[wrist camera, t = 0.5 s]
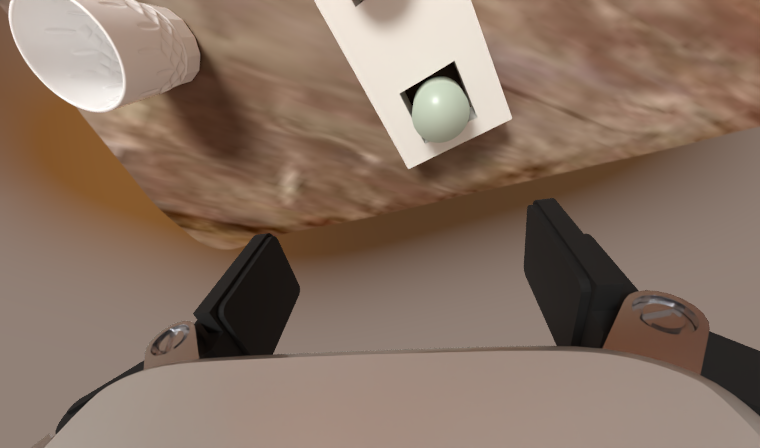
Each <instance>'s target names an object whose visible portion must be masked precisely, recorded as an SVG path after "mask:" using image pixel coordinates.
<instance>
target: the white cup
mask: <svg viewBox="0 0 760 448" xmlns="http://www.w3.org/2000/svg"><path fill="white" fill-rule="evenodd" d="M9 23H10V27H11V32H12V35H13V38H14V40H15V43H16V45H17V47H18V49H19V51H20V53H21V54H22V56H23V58H24V60H25V61H26V63H27V64H28V65H29V67H30V68H31V70H32V71H33V72H34V73H35V74H36V76H37V77H38V78H39V79H40V80H41V81H42V82H43V83H44V84H45V85H46V86H47V87H48V88H49V89H50V90H51V91H53V92H54V93H55V94H56V95H58V96H59V97H60V98H62V99H63V100H65V101H67V102H69V103H70V104H72V105H74V106H76V107H78V108H81V109H83V110H87V111H91V112H108V111H111V110H114V109H117V108H120V107H123V106H126V105H129V104H132V103H135V102H138V101H141V100H144V99H146V98H149V97H152V96H155V95H158V94H161V93H163V92H166V91H169V90H171V89H172V88H173V87H176V86H178V85H181V84H184V83H187V82H190V81H192V80H193V79H194V77H195V76H196V74H197V73H198V71H199V68H200V52H199V49H198V45H197V42H196V39H195V36H194V35H193V34H192V32H191V31H190V29H189V28H188V26H187V25H186V24H185V22H184V21H183V20H182V19H181V18H180V17H178V16H177V15H176V14H174V13H173V12H172V11H170V10H169V9H168V8H164V7H160V6H156V5H152V4H146V3H139V2H137V1H135V0H11V2H10V5H9Z"/></svg>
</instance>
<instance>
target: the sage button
mask: <svg viewBox="0 0 760 448" xmlns="http://www.w3.org/2000/svg"><path fill="white" fill-rule="evenodd" d="M469 116H470V106H469V102H468V100H467V97H466V96H465V94H464V92H463V91H462V89H461V87H460V86H459V84H458V83H457V82H456V81H454V80H453V79H451V78H449V77H445V76H437V77H433V78H430V79H428V80H427V81H425V82H424V83H423V84H422V85H421V86H420V87H419V88H418V90H417V92H416V94H415V96H414V101H413V109H412V122H413V125H414V128H415V130H416V131H417V133H418V134H419V135H420V136H421V137H422V138H424V139H426V140H427V141H430V142H434V143H442V142H447V141H450V140H452V139H454V138H455V137H457V136H458V135H459V134H460V133H461V132H462V131H463V130H464V128H465V127H466V125H467V123H468V120H469Z"/></svg>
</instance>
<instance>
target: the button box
mask: <svg viewBox="0 0 760 448" xmlns="http://www.w3.org/2000/svg"><path fill="white" fill-rule="evenodd" d="M314 1H315V3H316V4H317V6H318V8H319V10H320V12H321V13H322V15H323V17H324V19H325V21H326V22H327V24H328V26H329V28H330V29H331V31H332V33H333V35H334V37H335V38H336V40H337V42H338V44H339V46H340V47H341V49H342V51H343V53H344V55H345V56H346V58H347V60H348V62H349V63H350V65H351V67H352V69H353V71H354V72H355V74H356V76H357V78H358V80H359V81H360V83H361V85H362V87H363V89H364V90H365V92H366V94H367V96H368V98H369V99H370V101H371V103H372V105H373V106H374V108H375V110H376V112H377V114H378V115H379V117H380V119H381V121H382V123H383V124H384V126H385V128H386V130H387V132H388V133H389V135H390V137H391V139H392V140H393V142H394V144H395V146H396V148H397V149H398V151H399V153H400V155H401V157H402V158H403V160H404V162H405V164H406V166H407V167H408V169H410V168H412V167H414V166H416V165H418V164H420V163H422V162H424V161H426V160H429V159H431V158H433V157H435V156H437V155H439V154H441V153H443V152H445V151H447V150H449V149H451V148H453V147H455V146H457V145H459V144H461V143H463V142H466V141H468V140H470V139H472V138H474V137H476V136H478V135H480V134H482V133H484V132H486V131H488V130H490V129H492V128H494V127H496V126H498V125H501V124H503V123H505V122H507V121H509V120H511V119H512V116H511V114H510V111H509V108H508V105H507V102H506V99H505V96H504V94H503V91H502V88H501V85H500V82H499V79H498V76H497V74H496V71H495V68H494V65H493V62H492V59H491V56H490V54H489V51H488V48H487V45H486V42H485V39H484V36H483V34H482V31H481V28H480V25H479V22H478V19H477V16H476V14H475V11H474V8H473V5H472V2H471V0H364V1H363V2H362V3H361V2H360V0H314ZM452 62H453V63H454V66H455V68H456V70H457V73H458V75H459V78H460V80H461V83H462V85H463V88H464V90H465V93H466V95H467V97H468V100H469V102H470V105H471V107H470V116H469V120H468V123H467V125H466V127H465V128H464V130H463V131H462V132H461V133H460V134H459V135H458V136H457V137H455V138H454V139H452V140H450V141H447V142H442V143H434V142H430V141H427V140H426V139H424V138H422V137H421V136H420V135H419V134H418V133H417V131H416V130H415V128H414V125H413V122H412V109H413V107H412V105H411V103H410V101H409V99H408V97H407V95H406V93H405V90H406V89H408V88H410V87H411V86H413V85H415V84H417V83H418V82H420V81H422V80H423V79H425V78H427V77H428V76H430V75H432V74H433V73H435V72H437V71H438V70H440V69H442V68H443V67H445V66H447V65H448V64H450V63H452Z"/></svg>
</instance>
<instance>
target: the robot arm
mask: <svg viewBox="0 0 760 448" xmlns="http://www.w3.org/2000/svg"><path fill="white" fill-rule="evenodd" d="M524 272H525V275H526V278H527V280H528V282H529V285H530V287H531V289H532V291H533V294H534V295H535V298H536V300H537V303H538V305H539V307H540V309H541V311H542V314H543V316H544V318H545V320H546V323H547V325H548V327H549V329H550V331H551V334H552V336H553V338H554V341H555V343H556V345H557V346H509V347H508V346H507V347H467V348H434V349H404V350H377V351H350V352H325V353H299V354H277V355H273V352H274V350H275V348H276V346H277V344H278V341H279V339H280V337H281V335H282V332H283V330H284V328H285V325H286V323H287V321H288V319H289V316H290V314H291V312H292V309H293V307H294V305H295V303H296V300H297V298H298V296H299V293H300V286H299V284H298V282H297V280H296V278H295V275H294V273H293V271H292V269H291V267H290V265H289V263H288V260H287V258H286V256H285V254H284V252H283V250H282V248H281V245H280V243H279V241H278V239H277V238H276V237H275V236H273V235H271V234H269V233H268V234H260V235H255V236H254V237H253V238H252V239H251V240H250V242H249V243H248V244H247V246H246V247H245V248H244V249H243V251H242V252H241V253H240V255H239V256H238V257H237V258H236V260H235V261H234V262H233V263H232V265H231V266H230V267H229V269H228V270H227V271H226V272H225V274H224V275H223V276H222V277H221V279H220V280H219V281H218V282H217V284H216V285H215V286H214V288H213V289H212V290H211V292H210V293H209V294H208V295H207V297H206V298H205V299H204V300H203V302H202V303H201V304H200V305H199V307H198V308H197V309H196V311H195V312H194V313H193V314H194V316H195V317H196V318H197V319H198V320H197V321H196V322H195V324H194V323H193V322H191V321H181V322H177V323H175V324H173V325H170V326H169V327H168V328H165V329H164V330H162V331H161V332H160V333H159V334H157V335H156V336H155V337H154V339H152V341H151V342H150V343H149V345H148V346H147V348H146V351H145V357H144V361H143V362H141V363H139V364H137V365H136V366H134V367H132V368H131V369H129V370H128V371H126V372H124V373H123V374H121V375H119V376H118V377H116V378H114V379H113V380H111V381H109V382H108V383H106V384H104V385H103V386H101V387H100V388H98V389H96V390H94V391H93V392H91V393H89V394H88V395H86V396H84V397H82V398H81V399H79V400H78V401H77V402H76V403H74V404H73V405H72V406H71V407H70V409H69V410H68V411H67V413H66V414H65V415H64V416H63V418H62V419H61V421H60V422H59V424H58V426H57V429H56V435H55V436H52V435H51V434H48V435H47V436H45V437H44V438H43V439H41V440H40V441H39V442H38V443H36V444H35V445H34V446H33V447H32V448H760V351H758V350H756V349H753V348H750V347H748V346H745V345H743V344H740V343H738V342H735V341H732V340H730V339H727V338H725V337H723V336H720V335H717V334H715V333H712V332H710V331H709V322H708V320H707V318H706V317H705V315H704V314H703V313H702V312H701V311H700V310H699V309H698V308H696V307H695V306H694V305H692V304H691V303H688V302H687V301H685V300H683V299H681V298H679V297H676V296H674V295H671V294H668V293H663V292H659V291H648V290H645V291H638V290H637V288H636V287H635V286H634V285H633V284H632V283H631V281H630V280H629V279H628V278H627V277H626V276H625V274H624V273H623V272H622V271H621V270H620V269H619V267H618V266H617V265H616V264H615V263H614V262H613V260H612V259H611V258H610V257H609V256H608V255H607V253H606V252H605V251H604V250H603V249H602V248H601V246H600V245H599V244H598V243H597V242H596V241H595V239H594V238H593V237H592V236H591V235H589V234H583V233H582V231H581V230H580V229H579V228H578V226H577V225H576V224H575V223H574V222H573V221H572V219H571V218H570V217H569V216H568V214H567V213H566V212H565V211H564V210H563V208H562V207H561V206H560V205H559V203H558V202H557V201H556V200H555V199H554V198H550V199H542V200H535V201H534V202H533V205H529V206H528V209H527V222H526V239H525V256H524Z"/></svg>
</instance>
